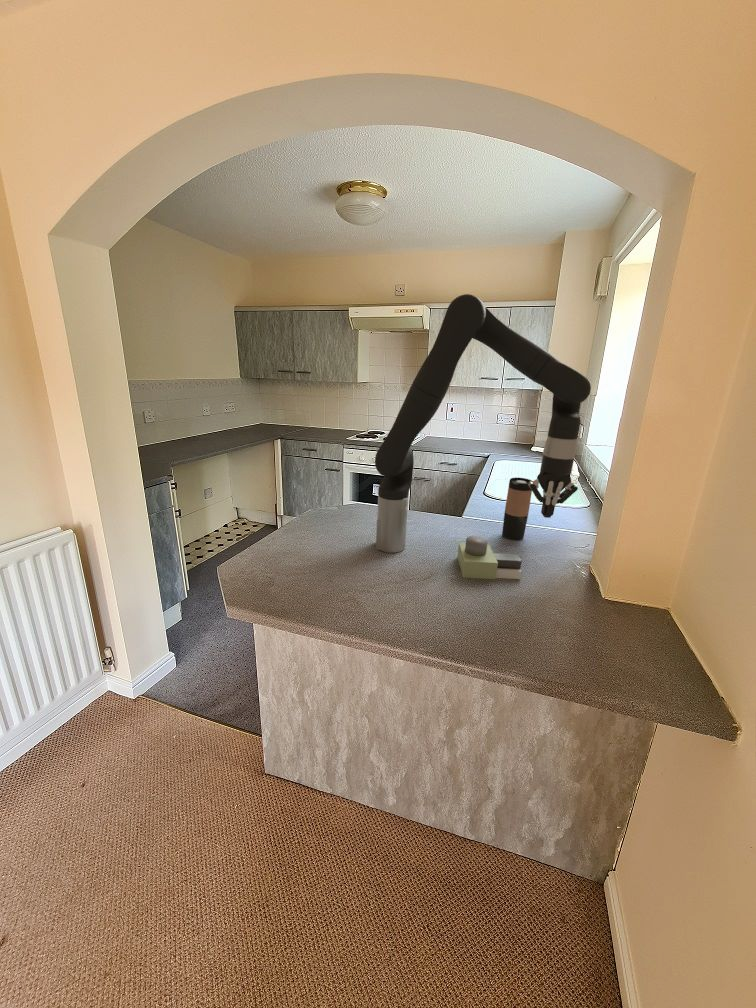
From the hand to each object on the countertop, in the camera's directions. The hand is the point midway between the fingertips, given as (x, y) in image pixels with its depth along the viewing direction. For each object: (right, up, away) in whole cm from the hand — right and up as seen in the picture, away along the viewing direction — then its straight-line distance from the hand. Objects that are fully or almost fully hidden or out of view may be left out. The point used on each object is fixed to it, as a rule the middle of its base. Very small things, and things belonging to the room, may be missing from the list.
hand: (546, 516), depth 111 cm
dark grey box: (-10, -16, +5) cm, 20 cm away
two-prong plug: (-14, -15, +7) cm, 22 cm away
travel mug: (+1, -8, +30) cm, 31 cm away
